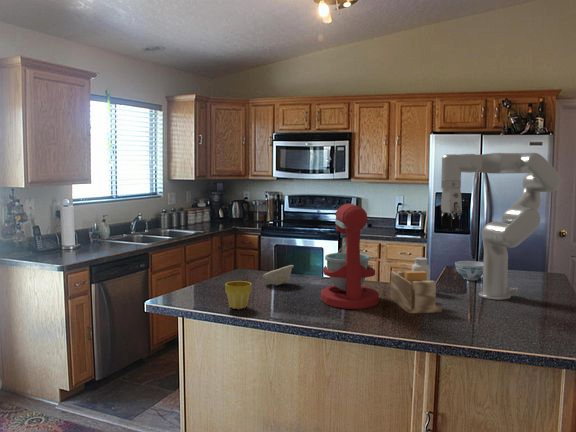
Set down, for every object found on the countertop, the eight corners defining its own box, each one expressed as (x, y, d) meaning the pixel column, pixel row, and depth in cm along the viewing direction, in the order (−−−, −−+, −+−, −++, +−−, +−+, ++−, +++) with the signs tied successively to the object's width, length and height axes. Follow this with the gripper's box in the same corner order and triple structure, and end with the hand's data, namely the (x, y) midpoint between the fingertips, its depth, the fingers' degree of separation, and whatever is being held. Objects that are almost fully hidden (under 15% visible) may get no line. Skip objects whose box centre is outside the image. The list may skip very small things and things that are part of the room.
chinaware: (449, 276, 263) (450, 261, 262) (478, 275, 265) (478, 260, 264) (462, 282, 248) (463, 266, 247) (492, 281, 250) (493, 265, 249)
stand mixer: (370, 290, 233) (371, 201, 229) (387, 309, 202) (388, 206, 198) (317, 291, 232) (317, 201, 228) (325, 310, 200) (326, 206, 197)
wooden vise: (420, 297, 220) (420, 270, 219) (442, 312, 197) (442, 282, 196) (390, 298, 219) (390, 271, 218) (408, 313, 196) (409, 283, 195)
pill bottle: (430, 294, 225) (431, 260, 224) (411, 293, 227) (411, 259, 226) (429, 290, 233) (429, 257, 232) (410, 289, 235) (411, 256, 233)
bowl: (275, 280, 256) (275, 260, 255) (299, 283, 247) (299, 263, 247) (256, 285, 244) (256, 264, 243) (280, 289, 235) (280, 267, 234)
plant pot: (255, 305, 208) (255, 281, 207) (245, 312, 198) (245, 287, 197) (232, 303, 211) (231, 280, 211) (220, 310, 202) (220, 285, 201)
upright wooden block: (423, 295, 210) (423, 270, 209) (426, 297, 207) (426, 272, 206) (404, 296, 209) (404, 271, 208) (406, 298, 206) (407, 273, 205)
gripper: (469, 185, 202) (468, 229, 204) (451, 184, 220) (450, 225, 221) (450, 185, 202) (449, 230, 203) (433, 184, 219) (433, 225, 220)
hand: (450, 227), depth 212 cm, fingers open, 9 cm apart
